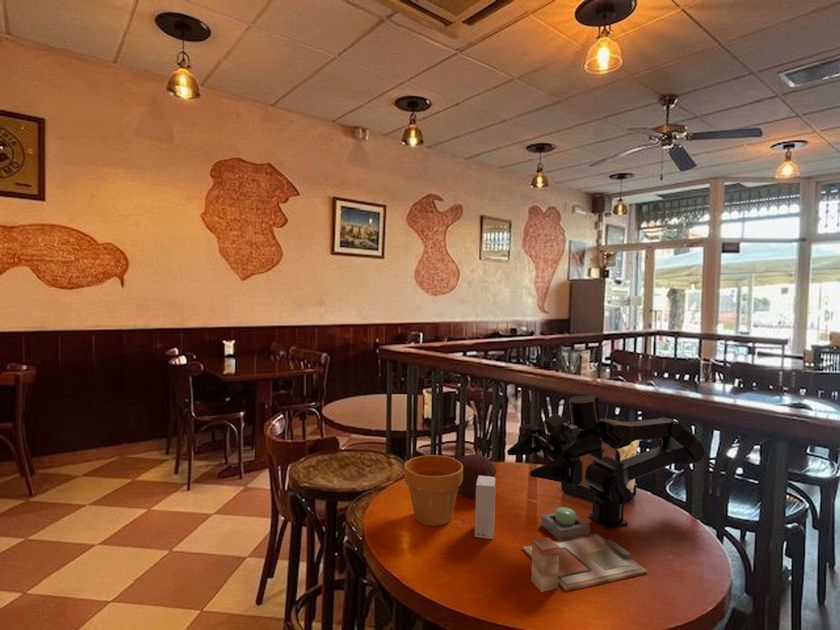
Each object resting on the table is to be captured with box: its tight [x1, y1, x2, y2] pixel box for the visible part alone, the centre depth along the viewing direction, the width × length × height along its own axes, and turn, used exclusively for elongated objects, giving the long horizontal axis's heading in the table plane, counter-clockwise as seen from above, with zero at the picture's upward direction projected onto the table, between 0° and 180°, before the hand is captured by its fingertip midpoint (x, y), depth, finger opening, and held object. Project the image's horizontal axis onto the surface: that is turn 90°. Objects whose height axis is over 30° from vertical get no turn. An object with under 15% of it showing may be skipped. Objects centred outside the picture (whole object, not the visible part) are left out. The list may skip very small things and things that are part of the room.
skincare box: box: [474, 475, 497, 540], centre depth 108 cm, size 6×4×12 cm
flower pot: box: [403, 454, 463, 527], centre depth 115 cm, size 14×14×13 cm
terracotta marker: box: [530, 537, 560, 593], centre depth 89 cm, size 4×4×8 cm
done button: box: [555, 506, 577, 527], centre depth 110 cm, size 4×4×3 cm
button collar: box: [541, 512, 591, 541], centre depth 110 cm, size 8×8×2 cm
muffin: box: [458, 453, 498, 501], centre depth 130 cm, size 12×11×10 cm
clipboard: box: [522, 533, 648, 592], centre depth 98 cm, size 19×15×2 cm
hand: (518, 463), depth 105 cm, fingers open, 9 cm apart
